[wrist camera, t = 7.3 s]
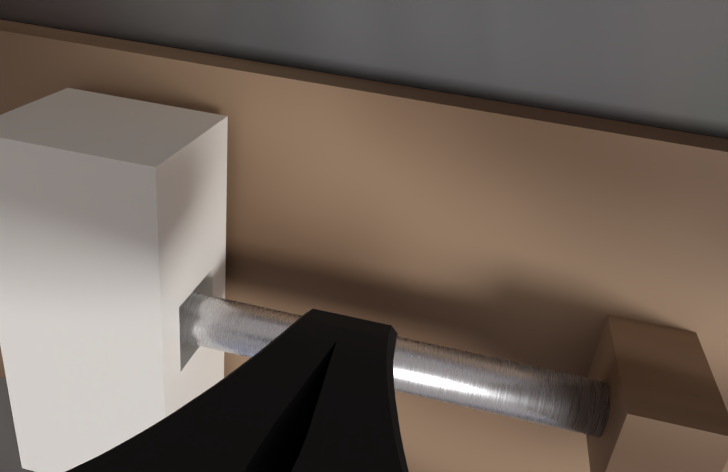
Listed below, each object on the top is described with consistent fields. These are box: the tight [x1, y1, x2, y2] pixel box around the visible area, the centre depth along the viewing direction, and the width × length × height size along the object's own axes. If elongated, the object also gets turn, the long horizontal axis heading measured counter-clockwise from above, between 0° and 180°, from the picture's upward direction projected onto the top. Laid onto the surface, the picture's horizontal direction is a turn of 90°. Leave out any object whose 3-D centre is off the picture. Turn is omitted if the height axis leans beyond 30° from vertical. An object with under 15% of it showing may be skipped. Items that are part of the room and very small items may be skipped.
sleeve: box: [0, 88, 228, 472], centre depth 16 cm, size 9×4×3 cm, turn 174°
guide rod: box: [179, 292, 611, 438], centre depth 16 cm, size 1×19×1 cm, turn 84°
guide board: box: [0, 19, 728, 472], centre depth 16 cm, size 11×26×4 cm, turn 84°
